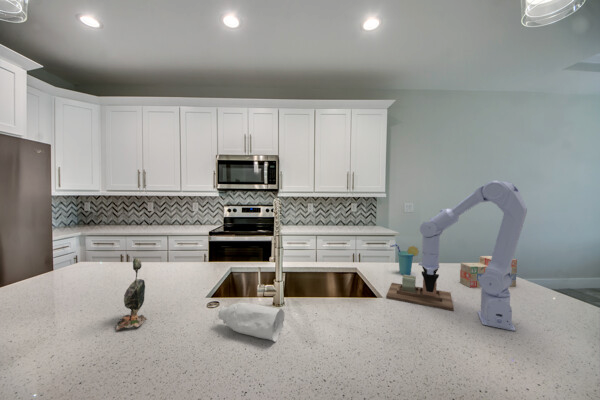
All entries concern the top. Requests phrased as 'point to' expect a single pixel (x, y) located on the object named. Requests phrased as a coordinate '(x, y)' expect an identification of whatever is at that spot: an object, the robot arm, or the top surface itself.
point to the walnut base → (419, 294)
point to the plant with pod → (133, 301)
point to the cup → (406, 259)
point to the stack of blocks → (481, 271)
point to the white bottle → (253, 320)
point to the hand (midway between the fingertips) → (429, 288)
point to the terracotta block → (429, 292)
